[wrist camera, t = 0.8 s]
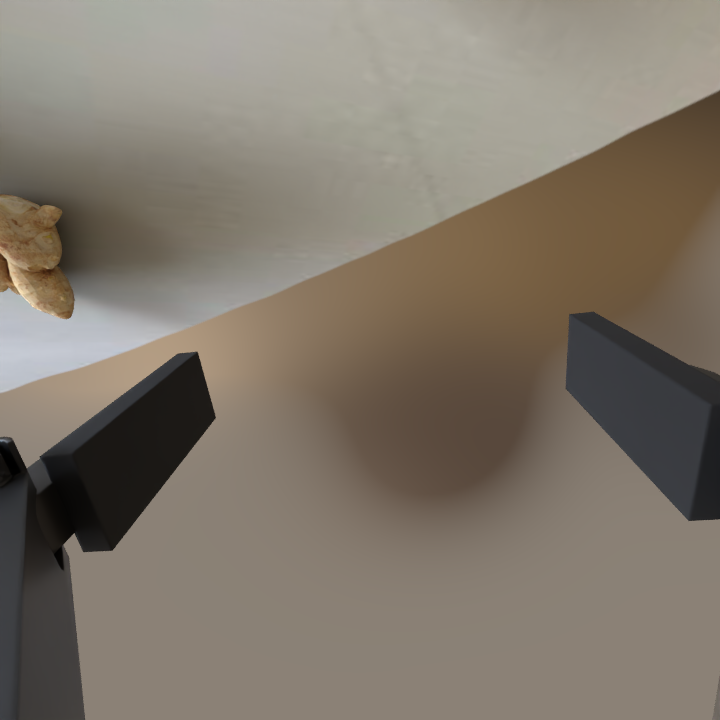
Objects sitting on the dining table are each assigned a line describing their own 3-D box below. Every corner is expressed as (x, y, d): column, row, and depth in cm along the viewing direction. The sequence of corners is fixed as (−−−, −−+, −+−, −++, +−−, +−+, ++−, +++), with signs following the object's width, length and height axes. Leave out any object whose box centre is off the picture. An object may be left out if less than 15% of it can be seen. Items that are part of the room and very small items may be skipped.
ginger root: (118, 228, 43) (78, 285, 39) (88, 299, 54) (55, 350, 50) (-73, 119, 36) (-149, 174, 31) (-63, 227, 47) (-118, 279, 42)
